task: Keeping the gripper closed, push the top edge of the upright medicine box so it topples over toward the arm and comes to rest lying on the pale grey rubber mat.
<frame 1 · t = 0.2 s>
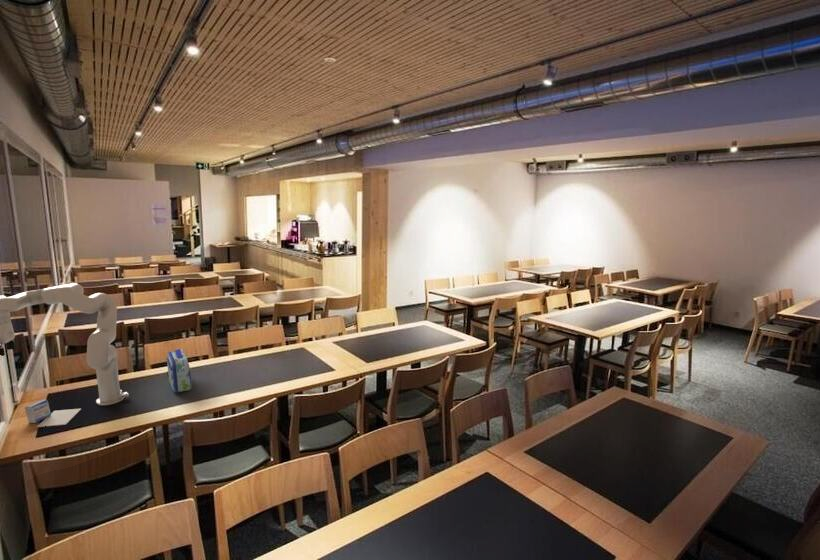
hand: (5, 352, 219), 31 cm above the table, fingers open, 9 cm apart
lunch box: (180, 386, 255), on the table
medicine box: (40, 419, 215), on the table, touching mat
mat: (60, 417, 217), on the table
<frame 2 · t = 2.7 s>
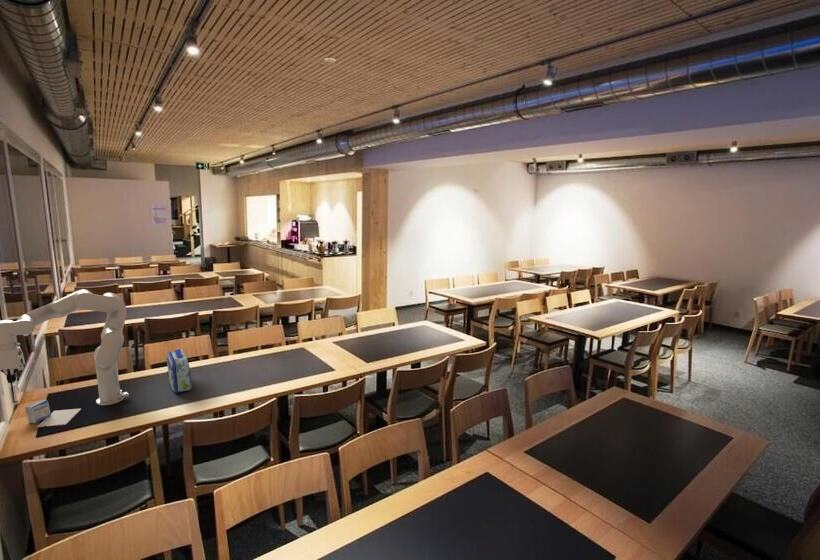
hand: (12, 381, 208), 21 cm above the table, fingers closed
nothing on the table moved.
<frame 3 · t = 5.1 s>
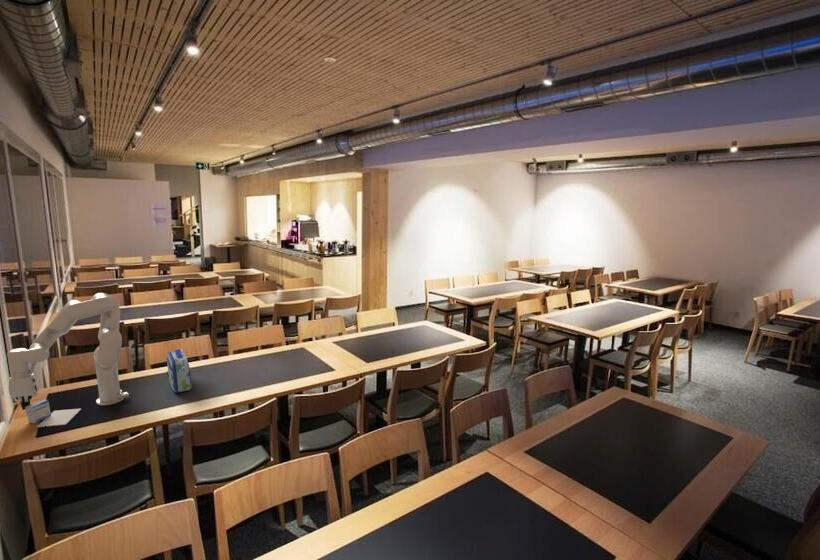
hand: (26, 408, 212), 7 cm above the table, fingers closed
medicine box: (40, 419, 215), on the table, touching gripper, mat
everything else where it was.
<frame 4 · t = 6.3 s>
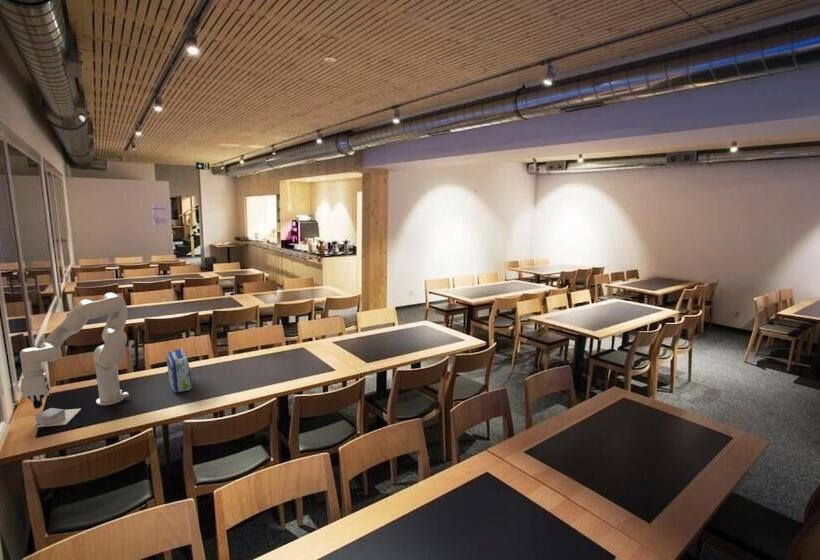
hand: (38, 407, 213), 7 cm above the table, fingers closed
medicine box: (43, 415, 214), point 3 cm above the table, touching mat
everything else where it was.
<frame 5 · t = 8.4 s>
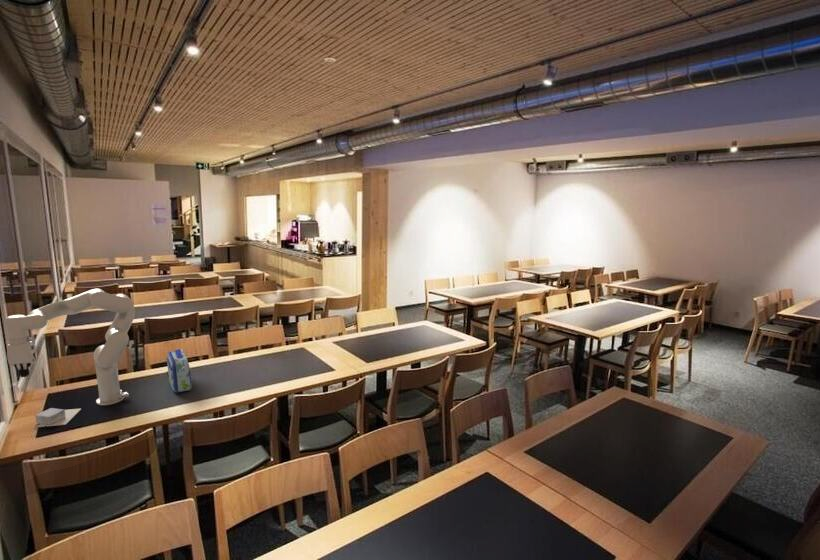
hand: (25, 376, 210), 23 cm above the table, fingers closed
nothing on the table moved.
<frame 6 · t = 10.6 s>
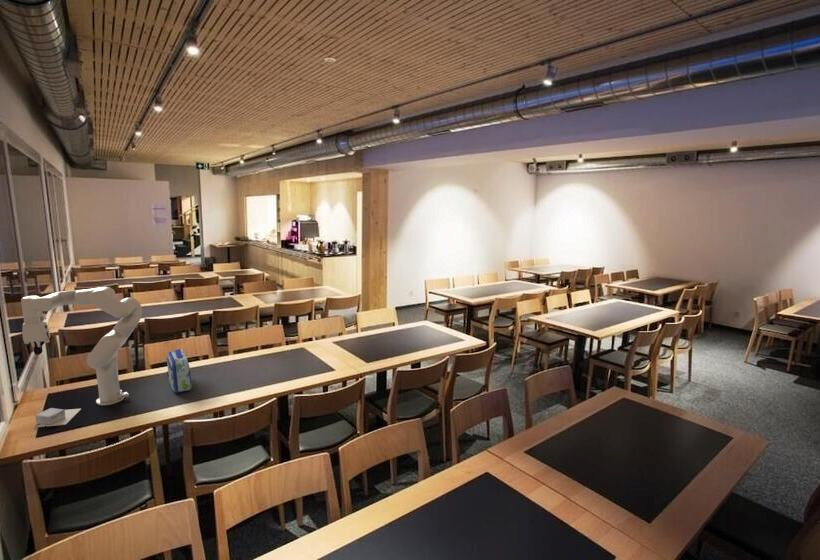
hand: (38, 353, 223), 29 cm above the table, fingers closed
nothing on the table moved.
at the end: medicine box tilted 90°; medicine box inside the target area (3.6 cm from its centre), point 2.6 cm above the table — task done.
